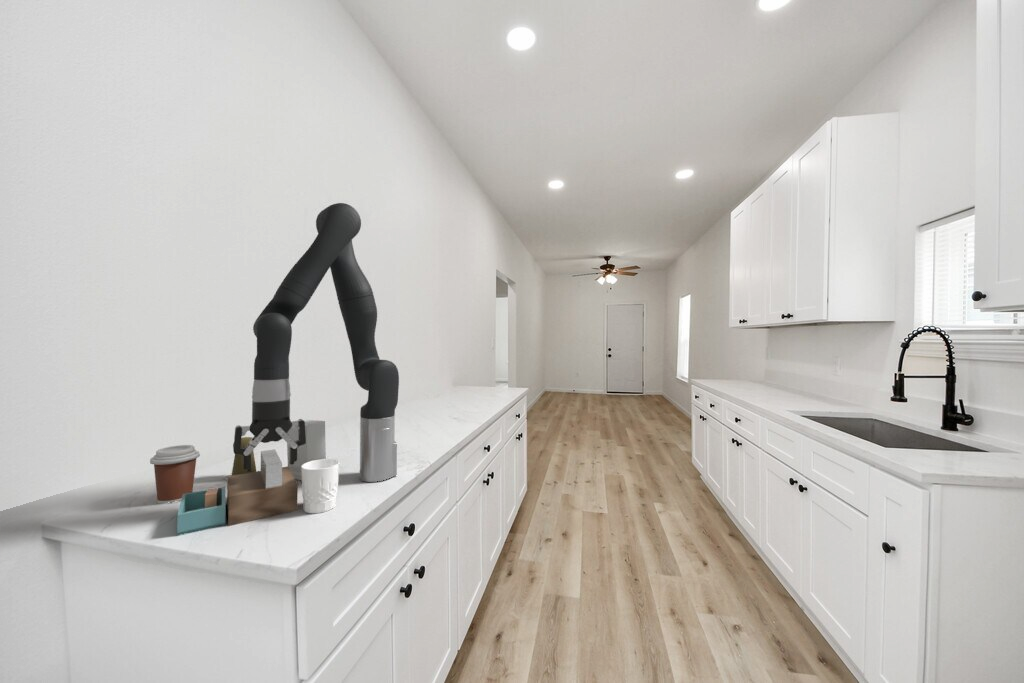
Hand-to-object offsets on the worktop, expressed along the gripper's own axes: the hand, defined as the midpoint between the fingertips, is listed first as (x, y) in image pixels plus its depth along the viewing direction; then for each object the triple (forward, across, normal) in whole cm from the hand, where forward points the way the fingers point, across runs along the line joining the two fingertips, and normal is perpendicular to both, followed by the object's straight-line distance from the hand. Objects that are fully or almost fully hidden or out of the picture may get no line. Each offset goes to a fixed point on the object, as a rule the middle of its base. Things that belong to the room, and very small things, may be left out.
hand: (270, 467), depth 89 cm
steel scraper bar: (+3, 0, 0) cm, 3 cm away
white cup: (+9, -9, +9) cm, 15 cm away
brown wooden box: (+9, +2, 0) cm, 9 cm away
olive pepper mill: (+9, +4, -26) cm, 27 cm away
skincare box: (+9, -10, -16) cm, 20 cm away
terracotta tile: (+6, +10, -3) cm, 12 cm away
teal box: (+9, +12, 0) cm, 15 cm away
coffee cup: (+9, +18, -18) cm, 27 cm away
